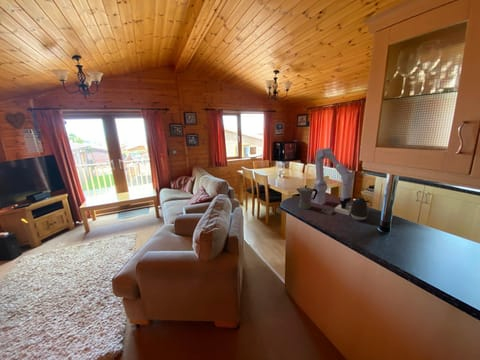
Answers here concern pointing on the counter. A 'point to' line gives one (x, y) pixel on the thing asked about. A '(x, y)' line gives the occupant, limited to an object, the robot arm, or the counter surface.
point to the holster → (327, 211)
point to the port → (343, 210)
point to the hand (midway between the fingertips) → (344, 207)
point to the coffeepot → (305, 197)
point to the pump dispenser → (359, 209)
